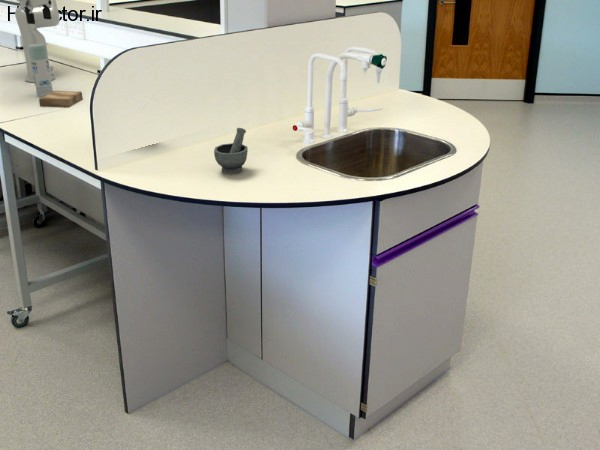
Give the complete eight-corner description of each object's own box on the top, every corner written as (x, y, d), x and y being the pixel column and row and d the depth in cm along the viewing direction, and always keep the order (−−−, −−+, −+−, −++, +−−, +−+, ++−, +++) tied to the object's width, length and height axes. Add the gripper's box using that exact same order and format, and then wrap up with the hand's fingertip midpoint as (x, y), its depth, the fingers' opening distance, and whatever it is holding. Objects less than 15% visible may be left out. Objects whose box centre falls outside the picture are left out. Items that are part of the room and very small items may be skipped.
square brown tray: (54, 98, 285) (53, 90, 284) (82, 99, 283) (81, 91, 282) (40, 106, 274) (38, 98, 273) (69, 107, 272) (68, 99, 271)
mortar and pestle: (233, 179, 203) (230, 139, 197) (208, 172, 208) (206, 133, 202) (258, 167, 211) (256, 128, 206) (234, 161, 216) (232, 123, 211)
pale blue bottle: (55, 95, 288) (47, 45, 280) (39, 98, 285) (30, 47, 277) (51, 92, 293) (43, 43, 285) (35, 94, 290) (26, 45, 282)
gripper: (38, -29, 274) (45, 16, 282) (8, -23, 260) (16, 25, 267) (54, -28, 272) (61, 18, 280) (25, -22, 257) (33, 26, 265)
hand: (39, 21), depth 273 cm, fingers open, 9 cm apart
